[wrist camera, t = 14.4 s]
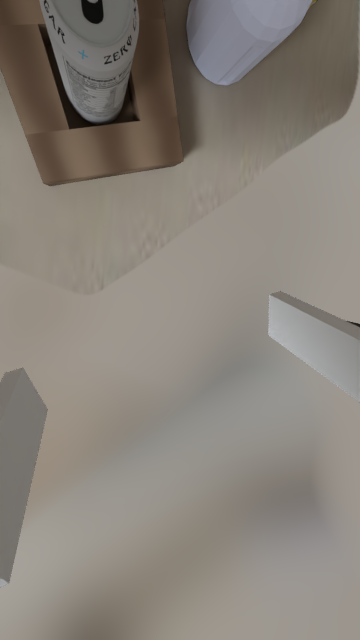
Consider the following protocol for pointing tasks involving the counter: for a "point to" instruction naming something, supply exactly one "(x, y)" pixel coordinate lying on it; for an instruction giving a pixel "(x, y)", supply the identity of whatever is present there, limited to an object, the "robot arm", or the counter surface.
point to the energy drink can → (93, 52)
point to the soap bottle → (238, 34)
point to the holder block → (67, 125)
